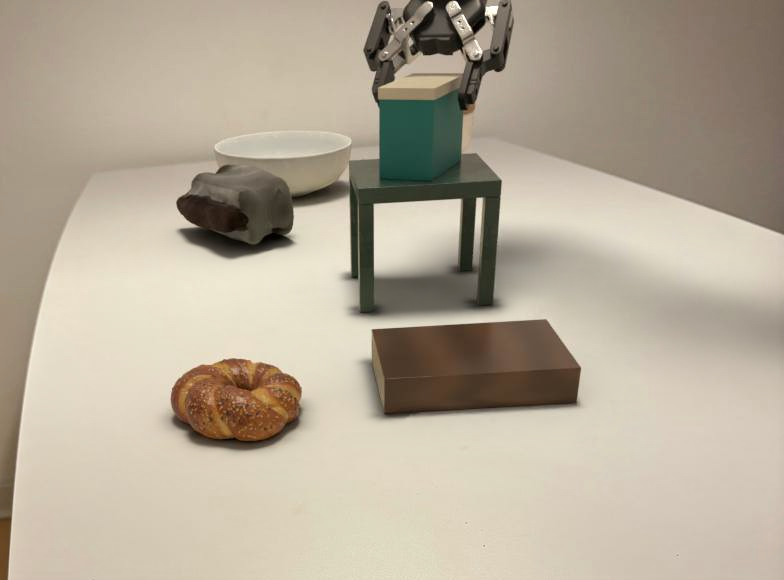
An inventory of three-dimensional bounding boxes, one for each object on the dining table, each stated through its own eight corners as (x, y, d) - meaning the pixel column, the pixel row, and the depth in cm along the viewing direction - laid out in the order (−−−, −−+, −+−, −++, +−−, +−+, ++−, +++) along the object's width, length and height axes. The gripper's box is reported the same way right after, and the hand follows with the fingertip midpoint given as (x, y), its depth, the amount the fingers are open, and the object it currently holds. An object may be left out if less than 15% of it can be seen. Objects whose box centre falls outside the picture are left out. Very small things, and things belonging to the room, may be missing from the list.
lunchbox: (411, 158, 102) (412, 73, 97) (462, 160, 100) (466, 73, 95) (377, 179, 95) (377, 87, 90) (432, 181, 93) (435, 87, 88)
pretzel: (322, 435, 75) (320, 391, 73) (188, 457, 73) (182, 412, 71) (285, 381, 85) (282, 341, 83) (165, 399, 83) (159, 358, 81)
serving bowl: (224, 213, 137) (219, 160, 133) (213, 183, 153) (208, 136, 149) (364, 200, 139) (364, 148, 135) (339, 173, 155) (338, 126, 151)
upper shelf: (470, 266, 110) (476, 152, 103) (493, 304, 99) (502, 180, 92) (350, 273, 110) (348, 160, 103) (359, 312, 99) (358, 188, 92)
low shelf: (543, 351, 88) (546, 318, 86) (576, 402, 78) (581, 367, 76) (371, 361, 88) (371, 329, 86) (384, 413, 78) (384, 379, 76)
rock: (166, 230, 130) (159, 167, 125) (238, 216, 135) (233, 155, 130) (227, 259, 117) (221, 191, 113) (304, 243, 122) (302, 177, 117)
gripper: (384, -73, 94) (343, 76, 93) (527, -81, 89) (485, 77, 88) (401, -12, 101) (363, 128, 100) (534, -16, 96) (496, 131, 95)
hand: (420, 104), depth 94 cm, fingers open, 8 cm apart
